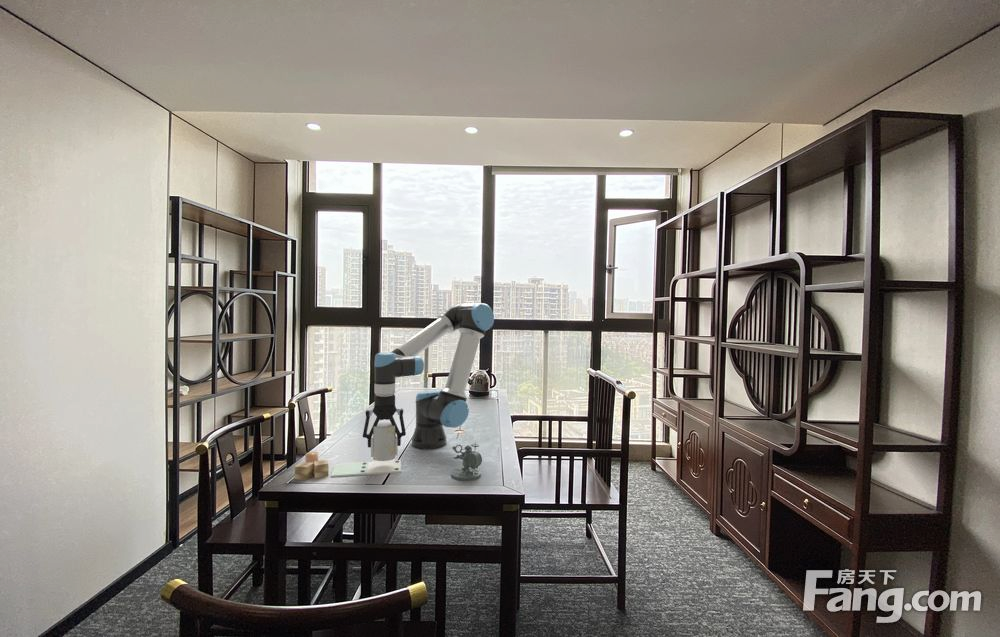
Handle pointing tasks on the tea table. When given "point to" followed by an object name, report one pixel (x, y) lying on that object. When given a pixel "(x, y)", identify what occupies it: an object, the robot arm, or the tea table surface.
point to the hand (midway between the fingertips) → (384, 455)
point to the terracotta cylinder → (311, 457)
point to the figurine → (467, 464)
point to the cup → (384, 442)
